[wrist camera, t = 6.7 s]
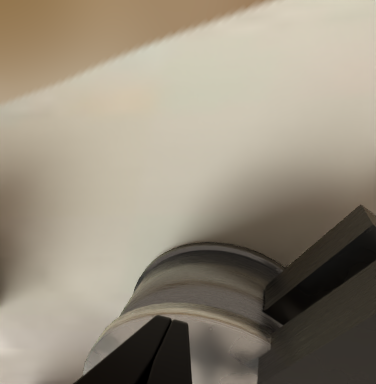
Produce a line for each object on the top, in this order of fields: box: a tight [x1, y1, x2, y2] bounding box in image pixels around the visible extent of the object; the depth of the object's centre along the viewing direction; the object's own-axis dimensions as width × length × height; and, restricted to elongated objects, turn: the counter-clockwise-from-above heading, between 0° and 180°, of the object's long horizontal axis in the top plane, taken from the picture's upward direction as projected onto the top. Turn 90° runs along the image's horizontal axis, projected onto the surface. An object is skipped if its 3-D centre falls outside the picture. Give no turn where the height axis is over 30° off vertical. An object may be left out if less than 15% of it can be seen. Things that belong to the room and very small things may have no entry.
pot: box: [119, 205, 376, 332], centre depth 17 cm, size 12×18×5 cm
